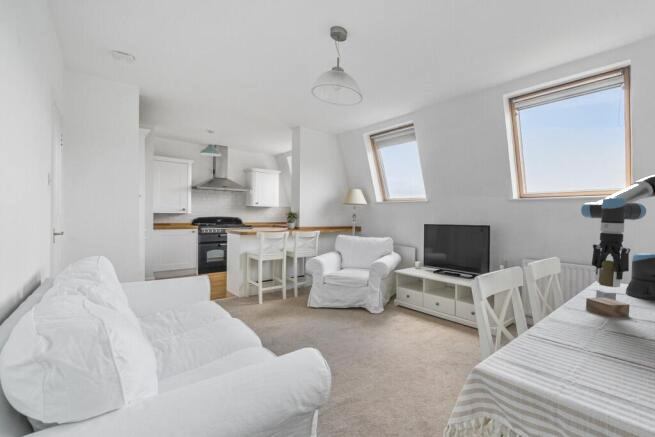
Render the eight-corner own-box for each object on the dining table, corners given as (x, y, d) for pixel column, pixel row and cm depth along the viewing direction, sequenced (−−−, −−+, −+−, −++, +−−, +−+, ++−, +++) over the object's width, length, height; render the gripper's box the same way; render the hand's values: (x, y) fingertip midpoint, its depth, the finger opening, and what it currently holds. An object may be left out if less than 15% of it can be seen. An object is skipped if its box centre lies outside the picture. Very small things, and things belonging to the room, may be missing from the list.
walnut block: (604, 308, 140) (605, 297, 140) (628, 316, 130) (629, 304, 130) (585, 308, 138) (586, 298, 138) (609, 316, 129) (609, 305, 128)
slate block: (606, 302, 149) (607, 290, 149) (615, 305, 144) (616, 293, 144) (595, 301, 150) (596, 289, 150) (603, 304, 145) (604, 292, 145)
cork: (609, 283, 136) (611, 259, 136) (621, 287, 130) (623, 262, 130) (595, 283, 137) (597, 259, 136) (606, 286, 131) (608, 261, 130)
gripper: (583, 230, 141) (579, 279, 142) (629, 234, 123) (625, 290, 124) (596, 230, 142) (593, 279, 144) (644, 235, 124) (640, 290, 125)
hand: (608, 284), depth 134 cm, fingers closed on cork, 6 cm apart
